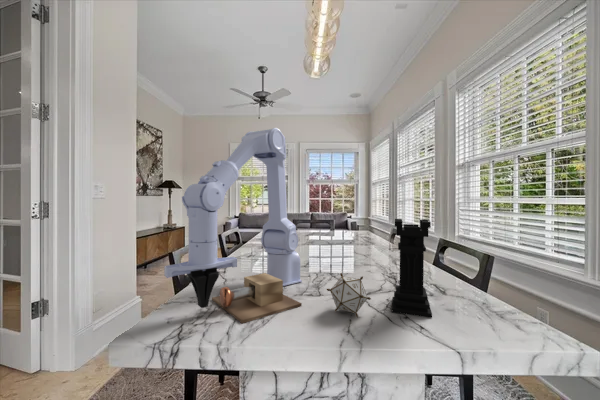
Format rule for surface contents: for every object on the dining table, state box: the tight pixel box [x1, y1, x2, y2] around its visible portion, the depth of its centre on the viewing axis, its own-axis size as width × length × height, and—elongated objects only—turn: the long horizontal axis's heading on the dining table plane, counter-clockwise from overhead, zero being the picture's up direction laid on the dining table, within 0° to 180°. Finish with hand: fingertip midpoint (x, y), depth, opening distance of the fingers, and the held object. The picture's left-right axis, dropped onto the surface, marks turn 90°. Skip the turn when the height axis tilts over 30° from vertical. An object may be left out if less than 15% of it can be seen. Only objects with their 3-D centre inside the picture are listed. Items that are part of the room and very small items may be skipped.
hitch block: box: [211, 272, 303, 324], centre depth 67 cm, size 15×16×5 cm
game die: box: [326, 272, 372, 318], centre depth 62 cm, size 9×8×10 cm
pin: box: [219, 285, 255, 307], centre depth 65 cm, size 10×4×4 cm, turn 128°
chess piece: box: [391, 218, 433, 319], centre depth 64 cm, size 8×8×20 cm
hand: (202, 305), depth 59 cm, fingers closed
